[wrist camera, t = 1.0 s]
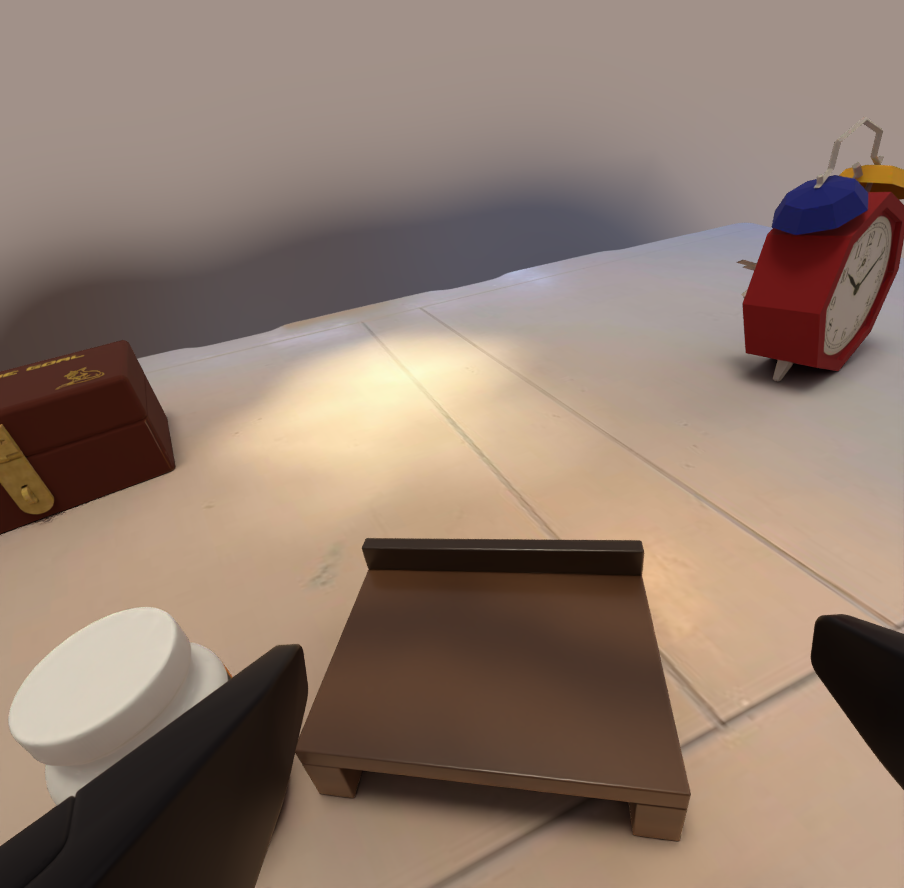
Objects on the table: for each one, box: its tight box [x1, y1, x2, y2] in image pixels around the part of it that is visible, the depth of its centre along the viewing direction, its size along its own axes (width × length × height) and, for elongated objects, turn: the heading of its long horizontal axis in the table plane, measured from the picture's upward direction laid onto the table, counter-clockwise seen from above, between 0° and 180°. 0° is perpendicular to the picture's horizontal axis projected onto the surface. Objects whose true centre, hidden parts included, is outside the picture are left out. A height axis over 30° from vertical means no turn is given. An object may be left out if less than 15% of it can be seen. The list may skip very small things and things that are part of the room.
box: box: [0, 340, 175, 534], centre depth 45 cm, size 21×16×10 cm
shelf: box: [295, 538, 691, 841], centre depth 21 cm, size 10×14×5 cm
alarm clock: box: [736, 117, 904, 381], centre depth 42 cm, size 15×9×20 cm, turn 125°
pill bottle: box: [8, 607, 283, 805], centre depth 17 cm, size 6×6×10 cm
